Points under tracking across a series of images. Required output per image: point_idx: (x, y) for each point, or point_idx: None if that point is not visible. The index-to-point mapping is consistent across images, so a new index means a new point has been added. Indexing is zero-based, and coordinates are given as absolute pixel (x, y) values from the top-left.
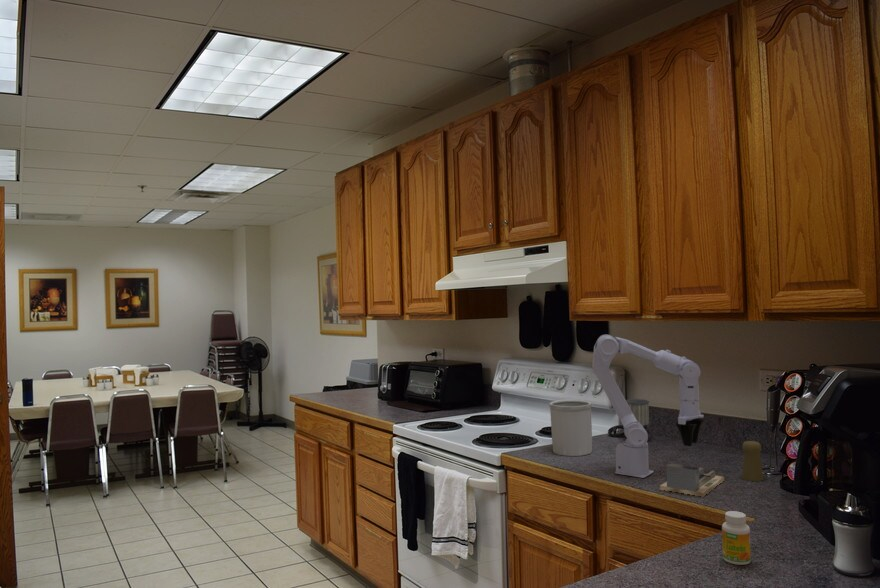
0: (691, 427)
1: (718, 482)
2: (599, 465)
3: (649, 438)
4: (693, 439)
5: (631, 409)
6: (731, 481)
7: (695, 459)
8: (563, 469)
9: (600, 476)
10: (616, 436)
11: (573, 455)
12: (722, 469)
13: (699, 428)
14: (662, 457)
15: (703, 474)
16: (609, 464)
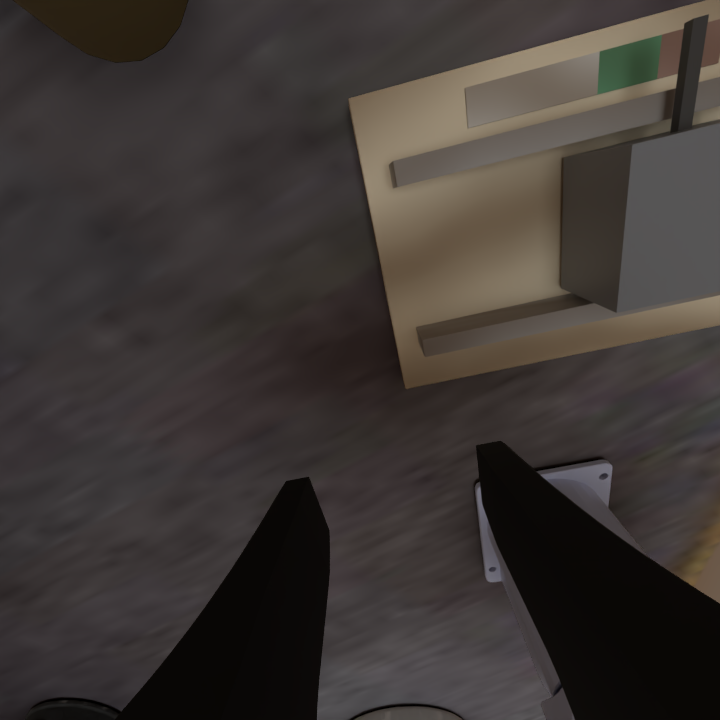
0: None
1: (503, 59)
2: (507, 634)
3: (41, 713)
4: (313, 532)
5: None
6: (321, 51)
7: (89, 485)
8: None
9: (662, 566)
10: None
11: (455, 716)
12: (110, 284)
13: (185, 693)
14: (206, 577)
15: (600, 150)
16: (470, 624)
